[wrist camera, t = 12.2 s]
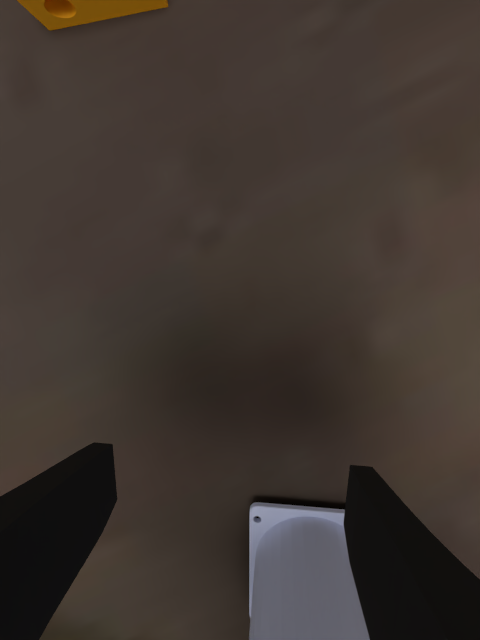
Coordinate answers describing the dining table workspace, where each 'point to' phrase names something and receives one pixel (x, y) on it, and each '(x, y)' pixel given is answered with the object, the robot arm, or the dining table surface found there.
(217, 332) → the dining table surface
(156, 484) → the dining table surface
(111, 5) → the pipe clamp
